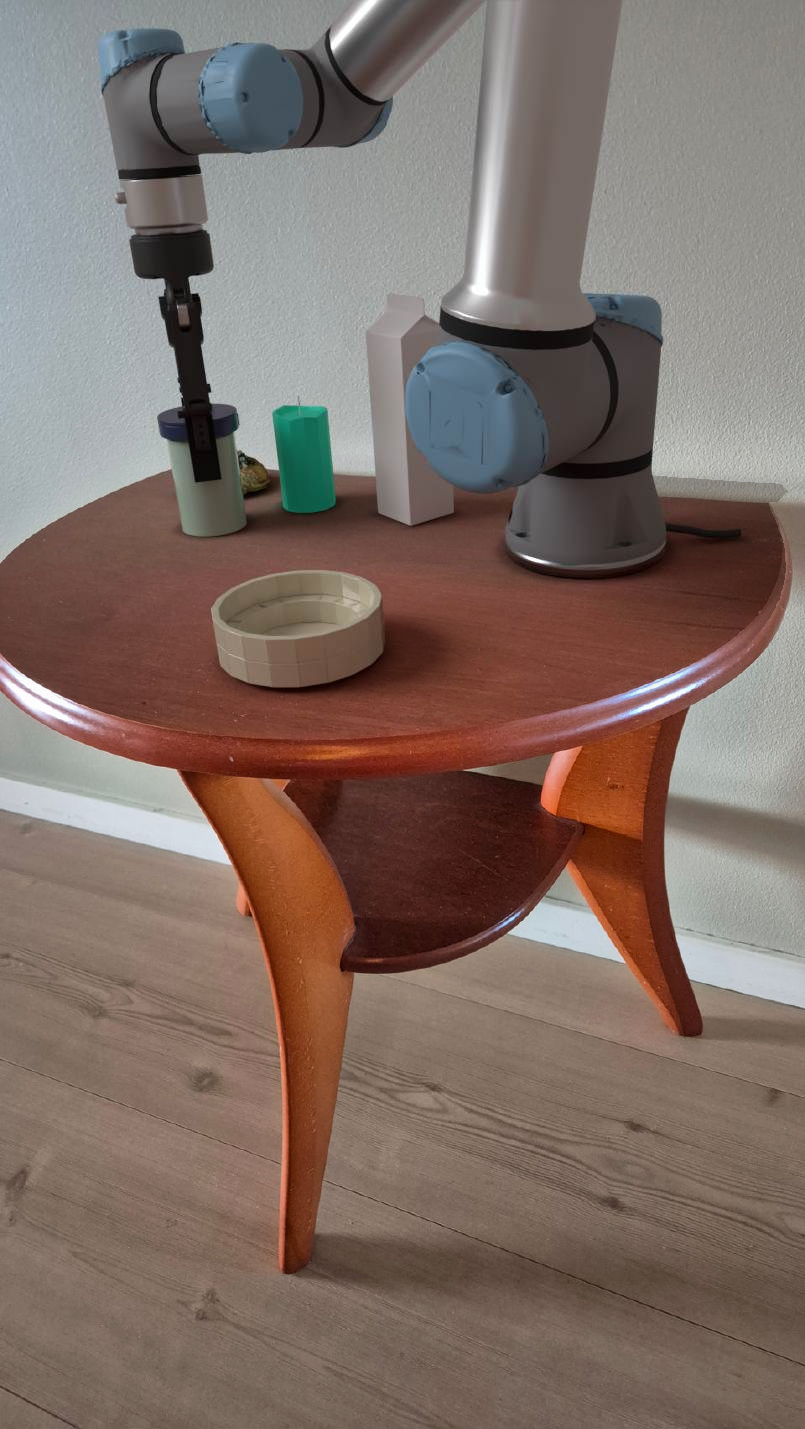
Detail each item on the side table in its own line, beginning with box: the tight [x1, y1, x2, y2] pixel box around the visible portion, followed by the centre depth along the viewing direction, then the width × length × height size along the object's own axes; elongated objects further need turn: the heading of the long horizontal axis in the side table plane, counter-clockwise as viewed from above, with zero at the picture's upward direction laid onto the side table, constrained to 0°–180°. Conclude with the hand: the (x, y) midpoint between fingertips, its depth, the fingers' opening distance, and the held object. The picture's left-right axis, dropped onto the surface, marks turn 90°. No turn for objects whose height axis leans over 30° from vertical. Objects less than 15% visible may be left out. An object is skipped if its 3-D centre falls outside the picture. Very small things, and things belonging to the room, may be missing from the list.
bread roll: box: [237, 449, 271, 496], centre depth 118 cm, size 11×11×5 cm
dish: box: [210, 569, 386, 688], centre depth 78 cm, size 13×13×4 cm
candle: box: [271, 395, 337, 514], centre depth 109 cm, size 6×6×12 cm
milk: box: [365, 293, 455, 527], centre depth 102 cm, size 6×6×22 cm
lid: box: [156, 403, 241, 441], centre depth 102 cm, size 8×8×2 cm
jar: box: [166, 431, 248, 538], centre depth 105 cm, size 7×7×12 cm
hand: (205, 468), depth 104 cm, fingers closed on lid, 8 cm apart
